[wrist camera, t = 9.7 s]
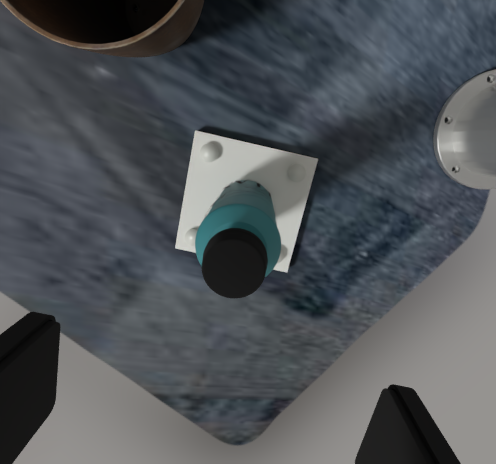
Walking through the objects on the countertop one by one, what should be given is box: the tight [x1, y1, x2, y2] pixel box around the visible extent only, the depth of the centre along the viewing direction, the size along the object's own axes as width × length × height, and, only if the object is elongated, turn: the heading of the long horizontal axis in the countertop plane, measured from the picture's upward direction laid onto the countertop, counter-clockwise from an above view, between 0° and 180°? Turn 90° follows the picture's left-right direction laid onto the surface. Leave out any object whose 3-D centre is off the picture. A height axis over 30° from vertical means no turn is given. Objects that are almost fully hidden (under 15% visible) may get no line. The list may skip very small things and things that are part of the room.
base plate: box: [175, 131, 318, 272], centre depth 39 cm, size 14×14×2 cm
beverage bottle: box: [195, 179, 281, 298], centre depth 29 cm, size 6×7×20 cm
